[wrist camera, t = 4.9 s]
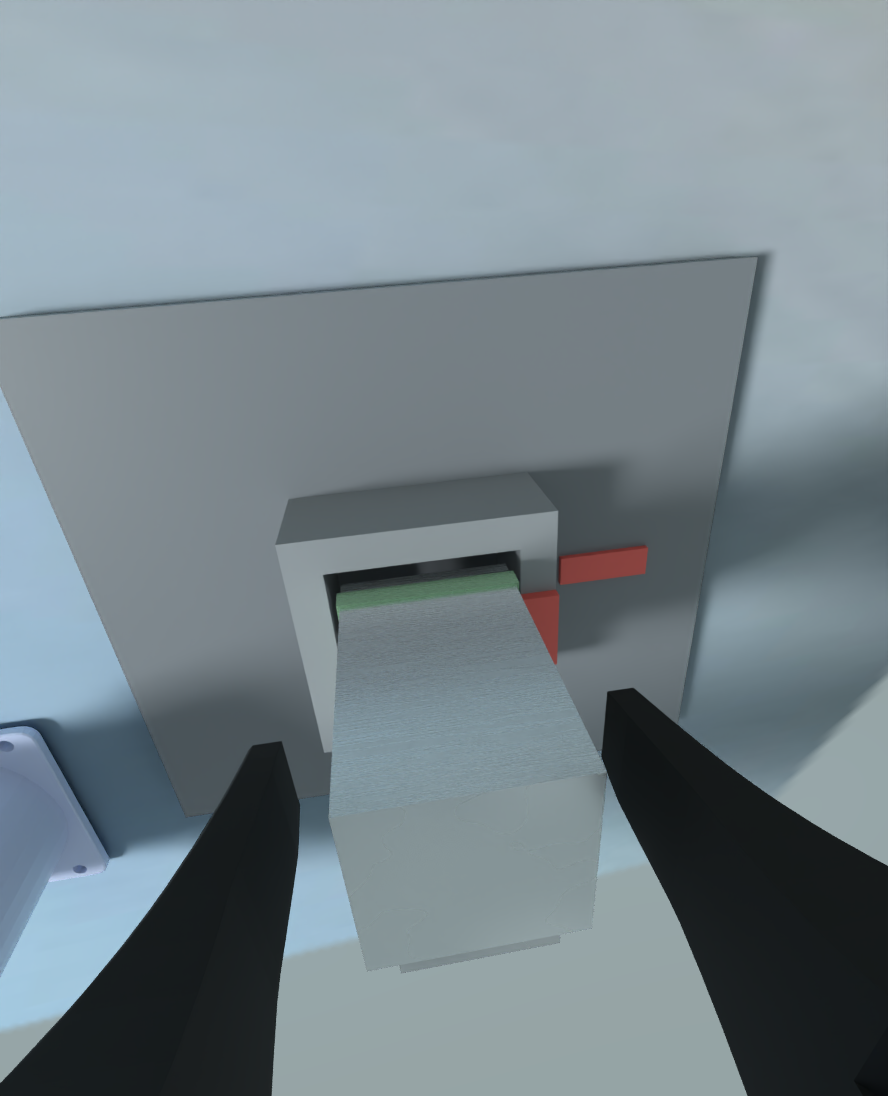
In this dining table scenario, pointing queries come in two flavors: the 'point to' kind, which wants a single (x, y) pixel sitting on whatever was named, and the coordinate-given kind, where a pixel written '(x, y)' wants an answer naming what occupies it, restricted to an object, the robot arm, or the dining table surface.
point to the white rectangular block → (458, 773)
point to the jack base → (381, 481)
